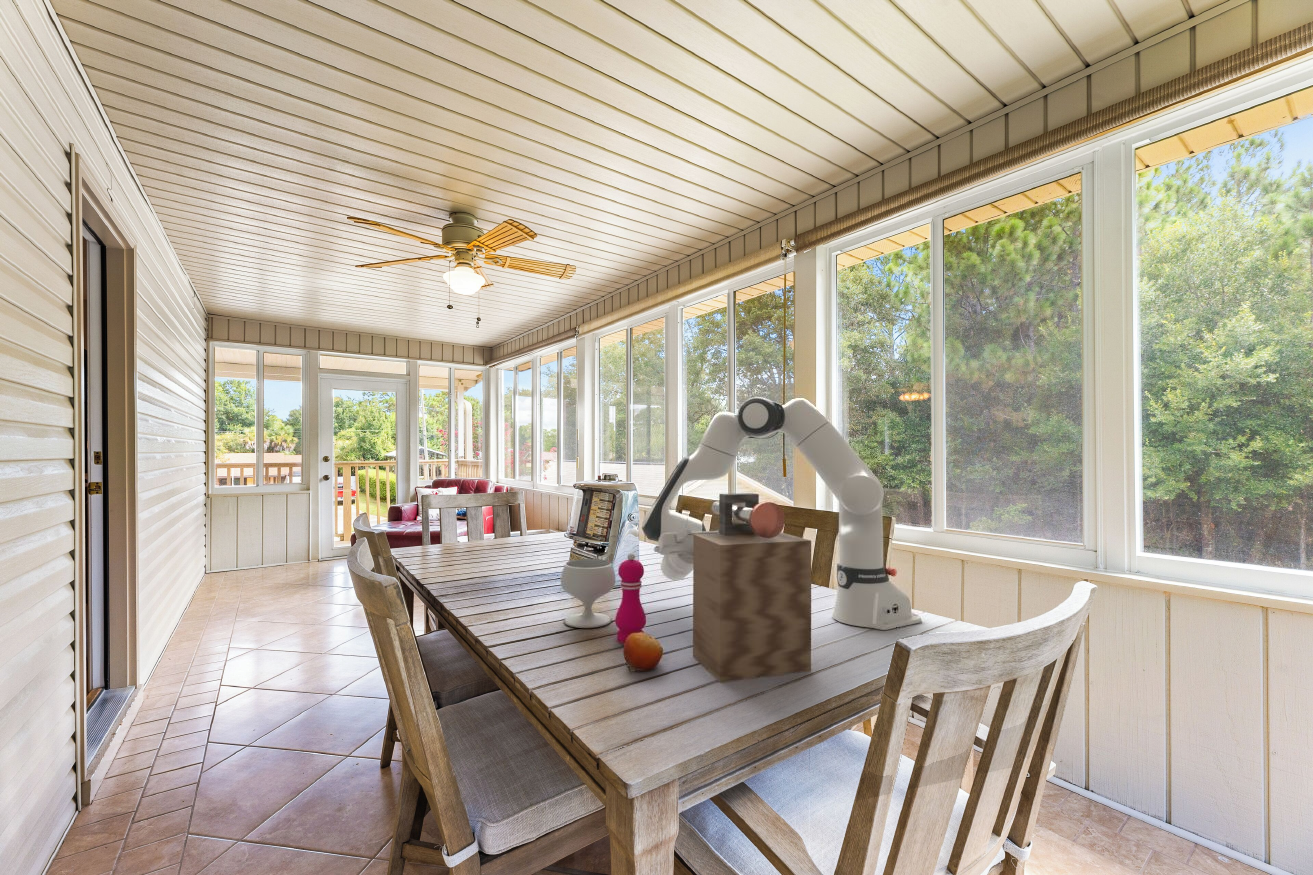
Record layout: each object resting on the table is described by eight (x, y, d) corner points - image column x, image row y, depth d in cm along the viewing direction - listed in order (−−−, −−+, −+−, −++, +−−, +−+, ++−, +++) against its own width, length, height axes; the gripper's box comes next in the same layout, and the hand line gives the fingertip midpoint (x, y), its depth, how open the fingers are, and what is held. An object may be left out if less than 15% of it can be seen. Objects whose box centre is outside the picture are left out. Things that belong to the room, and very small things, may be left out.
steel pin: (730, 521, 133) (730, 492, 134) (785, 537, 110) (785, 501, 110) (703, 522, 131) (703, 493, 132) (753, 538, 108) (753, 502, 108)
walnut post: (775, 646, 125) (776, 492, 126) (811, 670, 112) (811, 497, 113) (692, 656, 119) (693, 494, 120) (719, 682, 106) (720, 499, 107)
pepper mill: (647, 634, 133) (648, 550, 133) (644, 645, 126) (644, 556, 126) (617, 633, 133) (618, 549, 134) (612, 644, 126) (613, 555, 127)
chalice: (569, 612, 151) (570, 556, 151) (620, 615, 149) (620, 558, 149) (552, 629, 137) (553, 567, 137) (608, 632, 135) (609, 569, 135)
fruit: (608, 657, 114) (628, 621, 116) (639, 673, 117) (657, 637, 118) (622, 672, 107) (642, 633, 109) (654, 688, 109) (673, 650, 111)
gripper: (650, 540, 149) (664, 520, 137) (720, 537, 155) (739, 517, 144) (653, 563, 145) (668, 544, 134) (725, 559, 152) (745, 540, 140)
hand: (706, 530), depth 139 cm, fingers open, 8 cm apart
